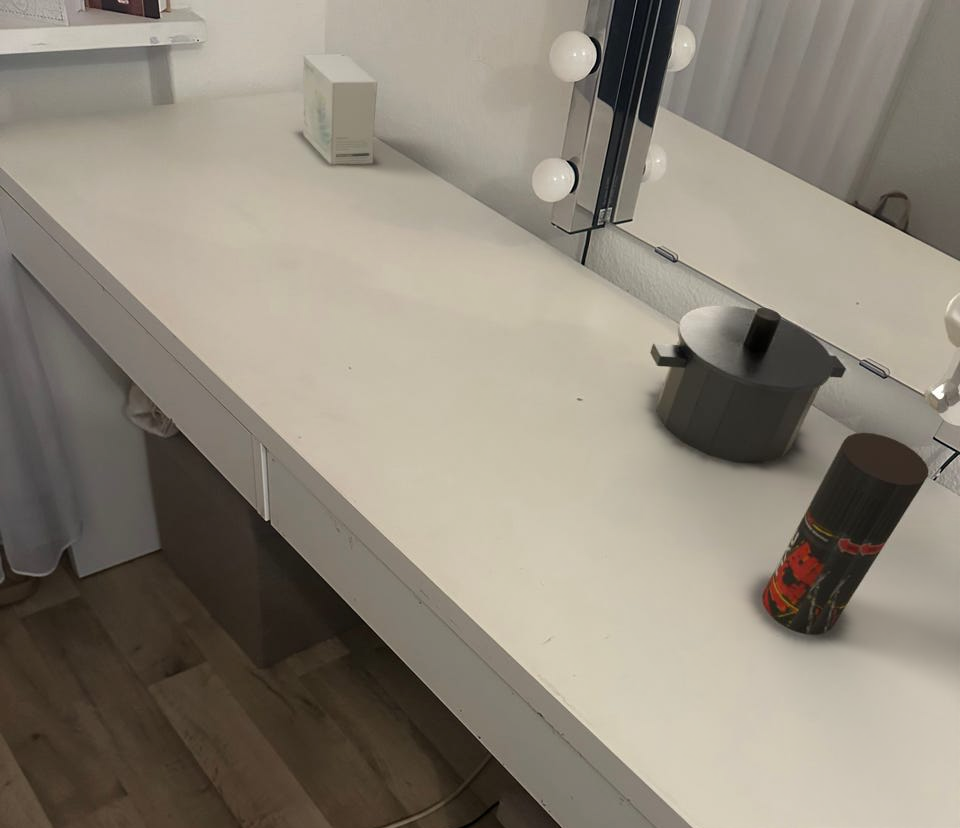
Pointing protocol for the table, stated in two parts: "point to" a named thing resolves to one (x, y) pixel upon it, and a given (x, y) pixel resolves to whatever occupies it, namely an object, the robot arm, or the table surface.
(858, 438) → the deodorant
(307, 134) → the cosmetics box
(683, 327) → the pot lid
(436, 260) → the table surface
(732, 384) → the pot
